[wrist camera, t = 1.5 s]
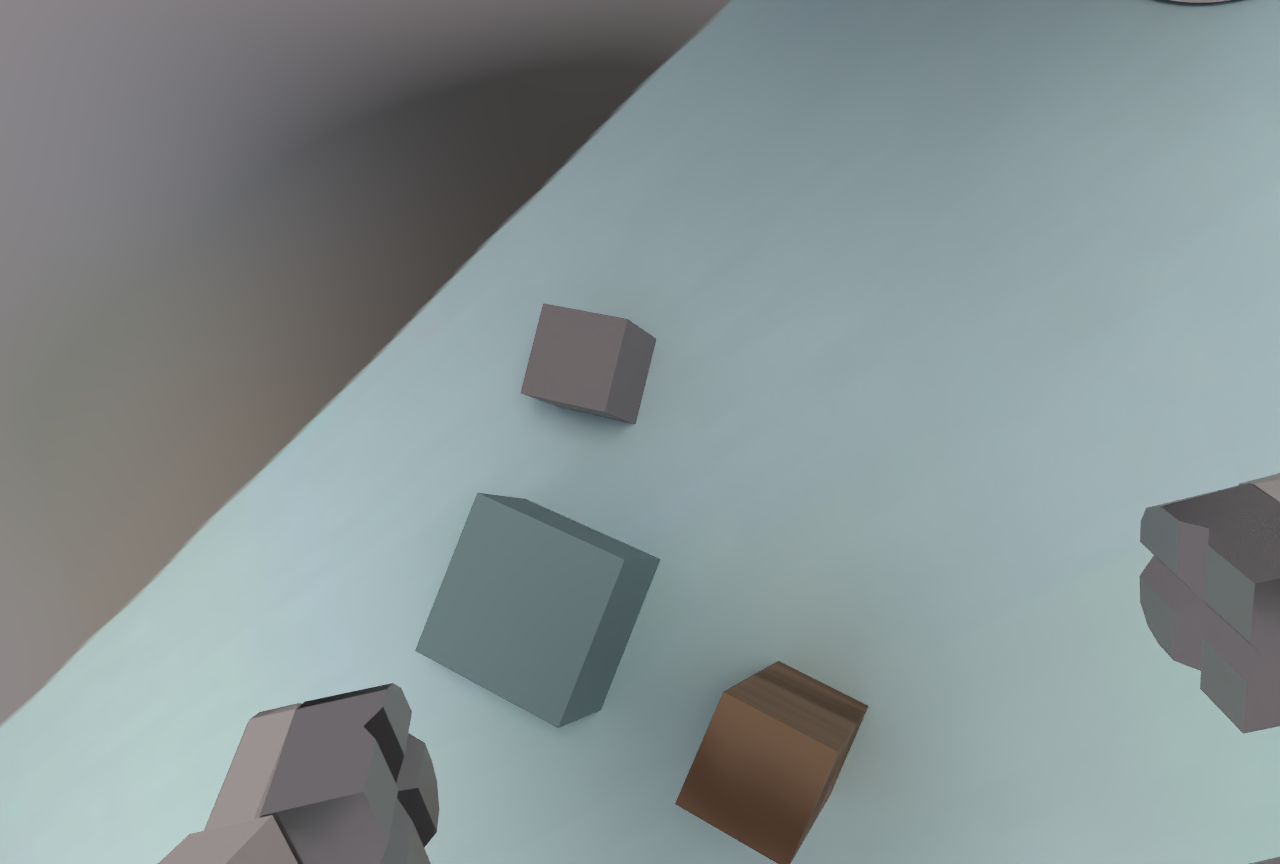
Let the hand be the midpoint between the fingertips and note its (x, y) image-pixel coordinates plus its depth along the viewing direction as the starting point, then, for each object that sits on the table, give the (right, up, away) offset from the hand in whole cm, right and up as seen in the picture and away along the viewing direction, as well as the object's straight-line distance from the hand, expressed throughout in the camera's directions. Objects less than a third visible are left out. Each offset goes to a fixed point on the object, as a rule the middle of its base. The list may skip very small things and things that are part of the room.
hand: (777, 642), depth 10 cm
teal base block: (-6, -7, +44) cm, 46 cm away
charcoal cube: (-3, +6, +45) cm, 46 cm away
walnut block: (+7, -13, +39) cm, 42 cm away
